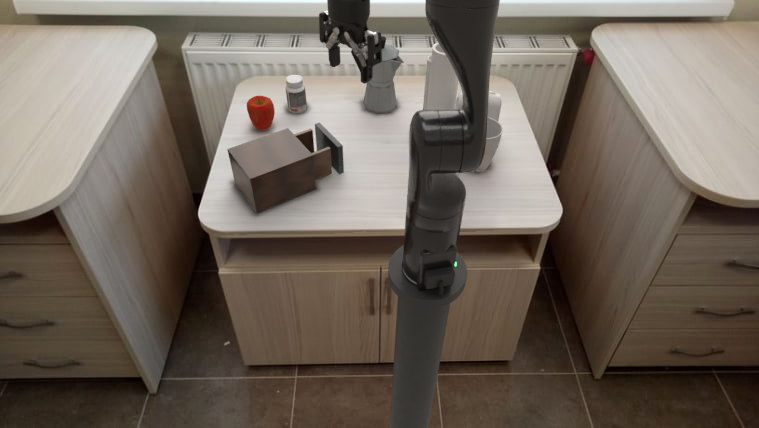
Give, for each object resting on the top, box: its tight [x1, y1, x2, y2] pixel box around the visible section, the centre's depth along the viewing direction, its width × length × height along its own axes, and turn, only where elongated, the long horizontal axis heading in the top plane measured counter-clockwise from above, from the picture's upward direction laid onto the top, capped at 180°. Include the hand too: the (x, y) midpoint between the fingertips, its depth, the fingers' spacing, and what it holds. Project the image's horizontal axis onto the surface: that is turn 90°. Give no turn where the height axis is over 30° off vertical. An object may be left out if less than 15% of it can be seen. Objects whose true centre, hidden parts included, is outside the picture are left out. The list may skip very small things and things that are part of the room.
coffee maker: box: [350, 35, 405, 115], centre depth 132 cm, size 15×9×18 cm, turn 56°
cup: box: [475, 118, 504, 173], centre depth 118 cm, size 8×8×10 cm
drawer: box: [293, 122, 345, 181], centre depth 115 cm, size 14×10×7 cm
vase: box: [422, 41, 459, 110], centre depth 127 cm, size 11×7×20 cm, turn 1°
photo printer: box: [455, 90, 502, 122], centre depth 124 cm, size 10×4×12 cm, turn 85°
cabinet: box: [226, 127, 317, 214], centre depth 112 cm, size 14×11×9 cm
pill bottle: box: [285, 74, 308, 114], centre depth 133 cm, size 5×5×8 cm
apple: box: [246, 95, 276, 131], centre depth 128 cm, size 6×6×8 cm
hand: (350, 73), depth 105 cm, fingers open, 8 cm apart
